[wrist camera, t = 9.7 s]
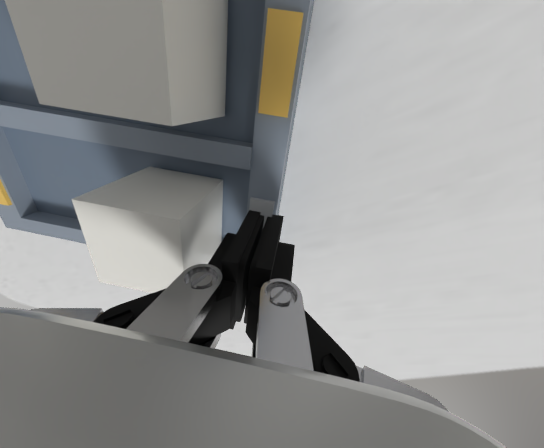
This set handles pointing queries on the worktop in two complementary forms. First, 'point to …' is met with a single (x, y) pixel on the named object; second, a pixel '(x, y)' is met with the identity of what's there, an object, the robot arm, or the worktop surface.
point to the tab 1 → (127, 56)
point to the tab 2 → (151, 226)
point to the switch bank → (157, 129)
